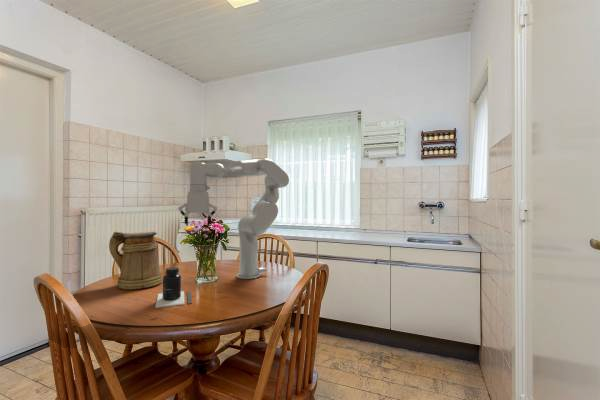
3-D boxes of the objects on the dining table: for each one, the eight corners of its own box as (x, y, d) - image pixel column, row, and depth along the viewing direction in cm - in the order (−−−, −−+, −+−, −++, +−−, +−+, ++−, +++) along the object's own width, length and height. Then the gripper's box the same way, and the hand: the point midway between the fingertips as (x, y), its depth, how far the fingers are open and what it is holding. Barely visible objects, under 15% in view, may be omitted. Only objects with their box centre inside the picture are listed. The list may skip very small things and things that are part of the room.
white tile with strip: (190, 291, 129) (190, 290, 129) (192, 303, 114) (192, 302, 114) (158, 294, 124) (158, 293, 124) (155, 307, 109) (155, 306, 109)
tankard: (155, 289, 131) (156, 233, 131) (97, 291, 128) (98, 234, 128) (167, 278, 149) (167, 229, 149) (117, 280, 146) (117, 229, 146)
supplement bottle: (162, 302, 114) (163, 271, 114) (162, 296, 120) (162, 267, 120) (181, 299, 118) (182, 269, 118) (180, 294, 124) (180, 265, 124)
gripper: (216, 189, 145) (216, 224, 145) (178, 188, 139) (178, 224, 139) (218, 188, 138) (217, 225, 138) (178, 188, 132) (177, 226, 132)
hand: (197, 225), depth 139 cm, fingers open, 9 cm apart
